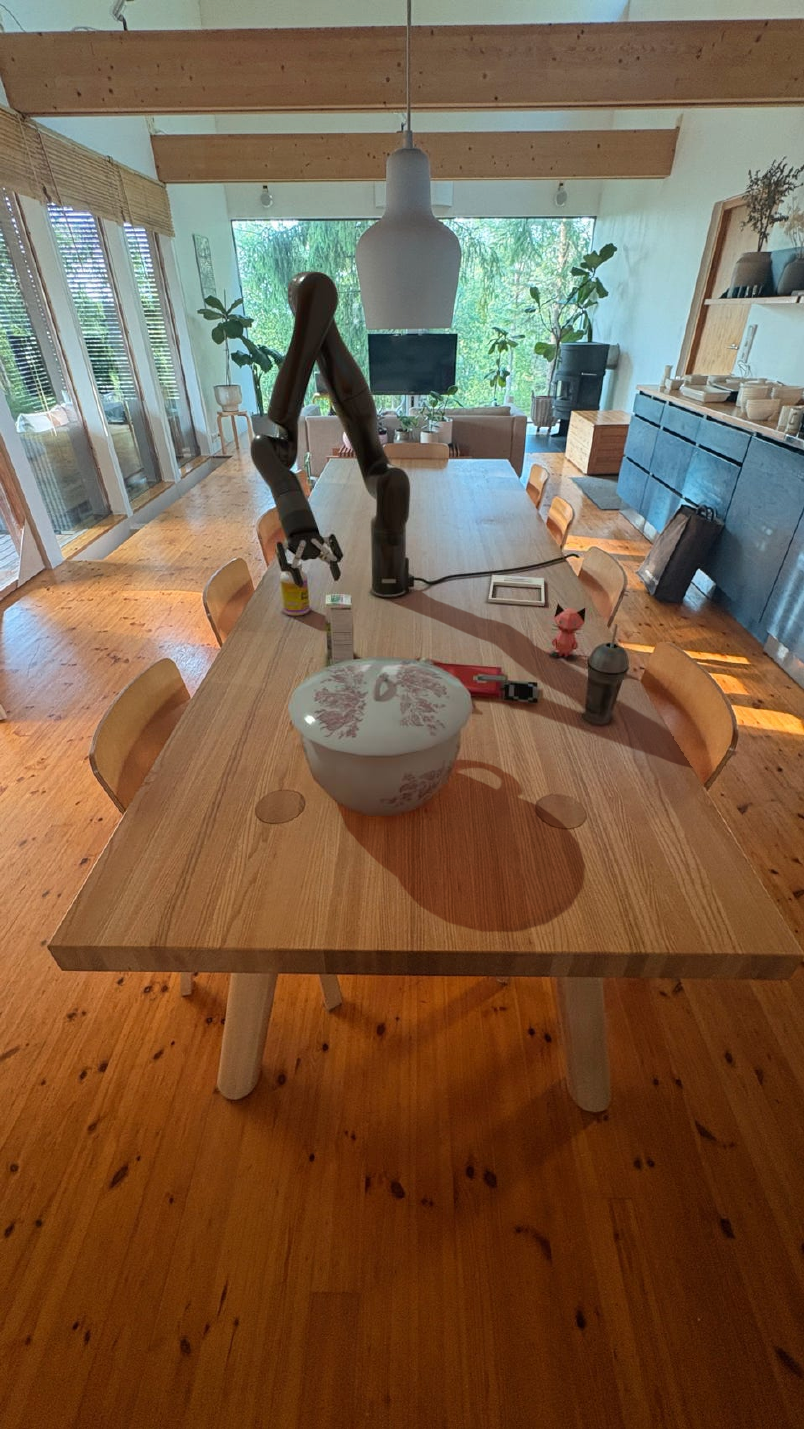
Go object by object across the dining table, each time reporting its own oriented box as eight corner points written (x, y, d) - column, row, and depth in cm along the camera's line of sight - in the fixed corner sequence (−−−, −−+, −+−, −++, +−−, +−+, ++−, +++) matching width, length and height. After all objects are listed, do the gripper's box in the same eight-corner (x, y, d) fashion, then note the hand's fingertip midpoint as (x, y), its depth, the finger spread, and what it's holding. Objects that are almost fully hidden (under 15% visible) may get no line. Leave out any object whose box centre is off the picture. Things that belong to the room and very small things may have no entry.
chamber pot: (328, 868, 87) (317, 749, 75) (279, 759, 108) (265, 653, 96) (501, 814, 96) (514, 700, 85) (425, 723, 117) (428, 622, 106)
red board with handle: (537, 712, 120) (536, 675, 132) (538, 699, 118) (538, 663, 131) (384, 699, 124) (398, 665, 137) (384, 687, 123) (398, 654, 135)
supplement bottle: (304, 617, 157) (300, 568, 150) (280, 615, 158) (274, 566, 151) (313, 607, 163) (309, 559, 156) (289, 605, 164) (284, 557, 157)
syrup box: (328, 654, 140) (324, 594, 132) (354, 653, 141) (351, 593, 133) (328, 666, 136) (323, 604, 128) (355, 665, 136) (352, 604, 128)
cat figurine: (545, 658, 139) (552, 608, 132) (550, 645, 144) (557, 597, 138) (577, 664, 137) (586, 613, 130) (581, 650, 142) (590, 601, 136)
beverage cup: (617, 711, 121) (639, 616, 110) (615, 731, 115) (638, 633, 104) (579, 705, 123) (596, 611, 112) (575, 724, 117) (593, 627, 106)
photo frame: (543, 577, 178) (544, 602, 163) (543, 581, 178) (544, 606, 163) (492, 574, 180) (488, 598, 165) (492, 577, 180) (488, 602, 165)
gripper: (268, 512, 133) (292, 580, 131) (329, 504, 139) (353, 569, 137) (263, 530, 140) (286, 595, 137) (322, 522, 145) (344, 584, 143)
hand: (319, 582), depth 137 cm, fingers open, 8 cm apart
